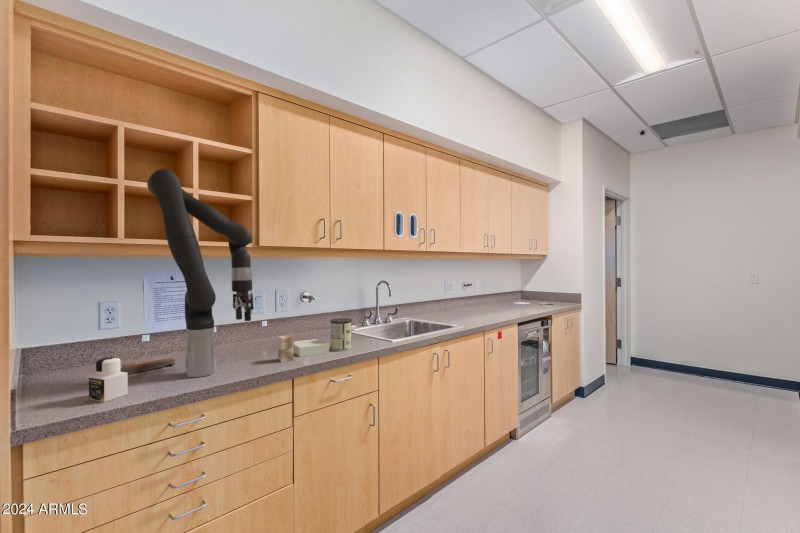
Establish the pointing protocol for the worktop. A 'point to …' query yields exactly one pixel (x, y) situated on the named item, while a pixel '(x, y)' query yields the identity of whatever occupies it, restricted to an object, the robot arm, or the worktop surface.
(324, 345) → the sage plinth
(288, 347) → the birch block
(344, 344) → the coffee can
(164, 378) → the worktop surface
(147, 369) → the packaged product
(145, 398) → the worktop surface
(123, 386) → the medicine bottle
